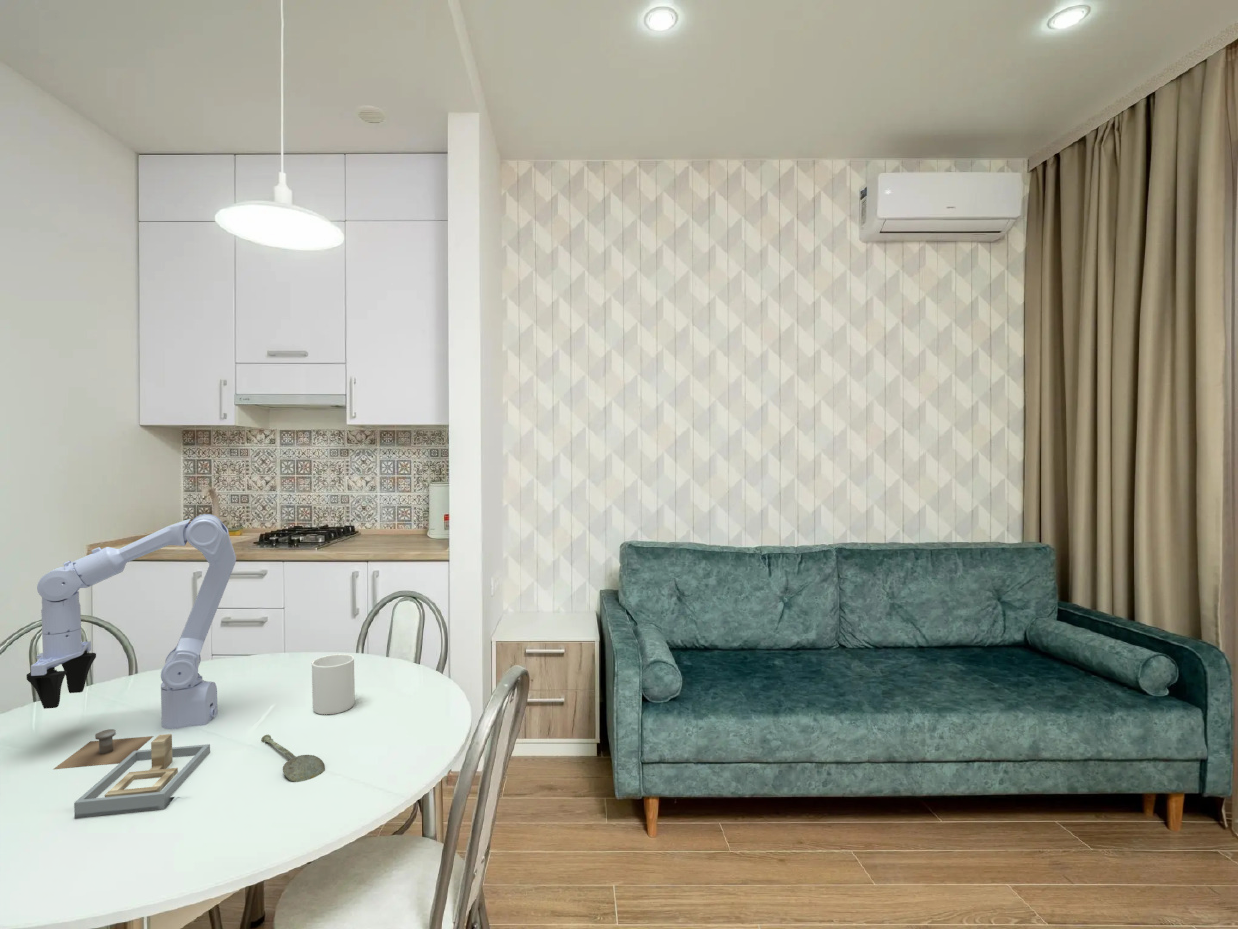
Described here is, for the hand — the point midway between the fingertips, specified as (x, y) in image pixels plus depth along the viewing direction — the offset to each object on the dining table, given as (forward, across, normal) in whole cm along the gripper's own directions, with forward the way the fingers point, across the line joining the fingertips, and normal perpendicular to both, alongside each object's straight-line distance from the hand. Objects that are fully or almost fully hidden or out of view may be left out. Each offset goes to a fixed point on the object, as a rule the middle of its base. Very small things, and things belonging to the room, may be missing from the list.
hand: (64, 699), depth 125 cm
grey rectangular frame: (+9, +19, +23) cm, 31 cm away
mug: (+10, -11, +46) cm, 49 cm away
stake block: (+9, +6, +10) cm, 15 cm away
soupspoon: (+10, +14, +44) cm, 47 cm away
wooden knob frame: (+9, +19, +23) cm, 31 cm away
